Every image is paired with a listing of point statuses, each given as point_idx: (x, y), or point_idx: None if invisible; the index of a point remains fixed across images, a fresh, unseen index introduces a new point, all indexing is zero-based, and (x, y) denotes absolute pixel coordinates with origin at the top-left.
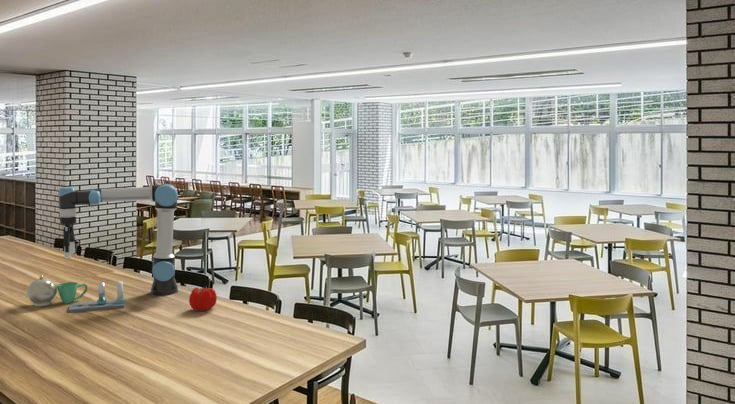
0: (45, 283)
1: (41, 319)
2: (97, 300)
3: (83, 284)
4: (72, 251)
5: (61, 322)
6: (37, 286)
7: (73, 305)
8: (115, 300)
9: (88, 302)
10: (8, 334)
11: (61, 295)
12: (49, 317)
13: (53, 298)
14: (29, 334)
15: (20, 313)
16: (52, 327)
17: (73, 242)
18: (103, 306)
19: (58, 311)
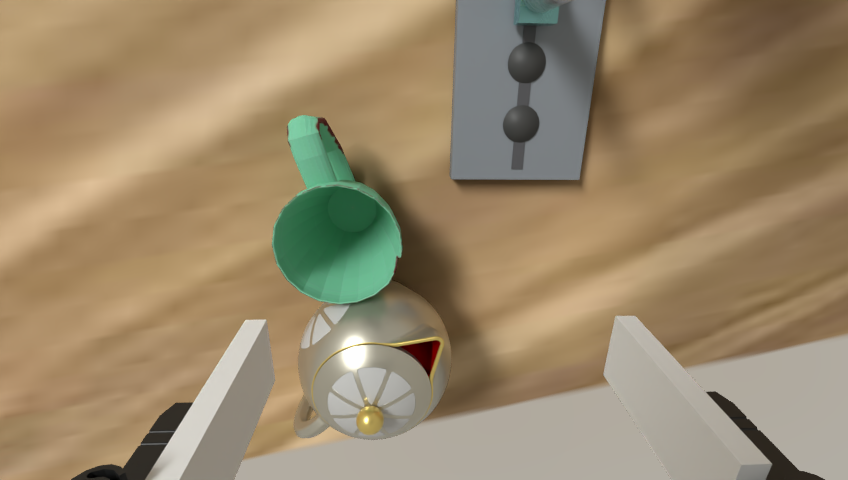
0: (423, 368)
1: (638, 272)
2: (548, 21)
3: (321, 143)
4: (260, 365)
5: (740, 180)
6: (440, 394)
7: (499, 165)
8: None
9: (461, 88)
10: (791, 341)
11: (382, 251)
12: (621, 245)
13: None
14: (844, 273)
15: (495, 367)
16: (800, 205)
17: (190, 478)
18: None
19: (529, 225)
